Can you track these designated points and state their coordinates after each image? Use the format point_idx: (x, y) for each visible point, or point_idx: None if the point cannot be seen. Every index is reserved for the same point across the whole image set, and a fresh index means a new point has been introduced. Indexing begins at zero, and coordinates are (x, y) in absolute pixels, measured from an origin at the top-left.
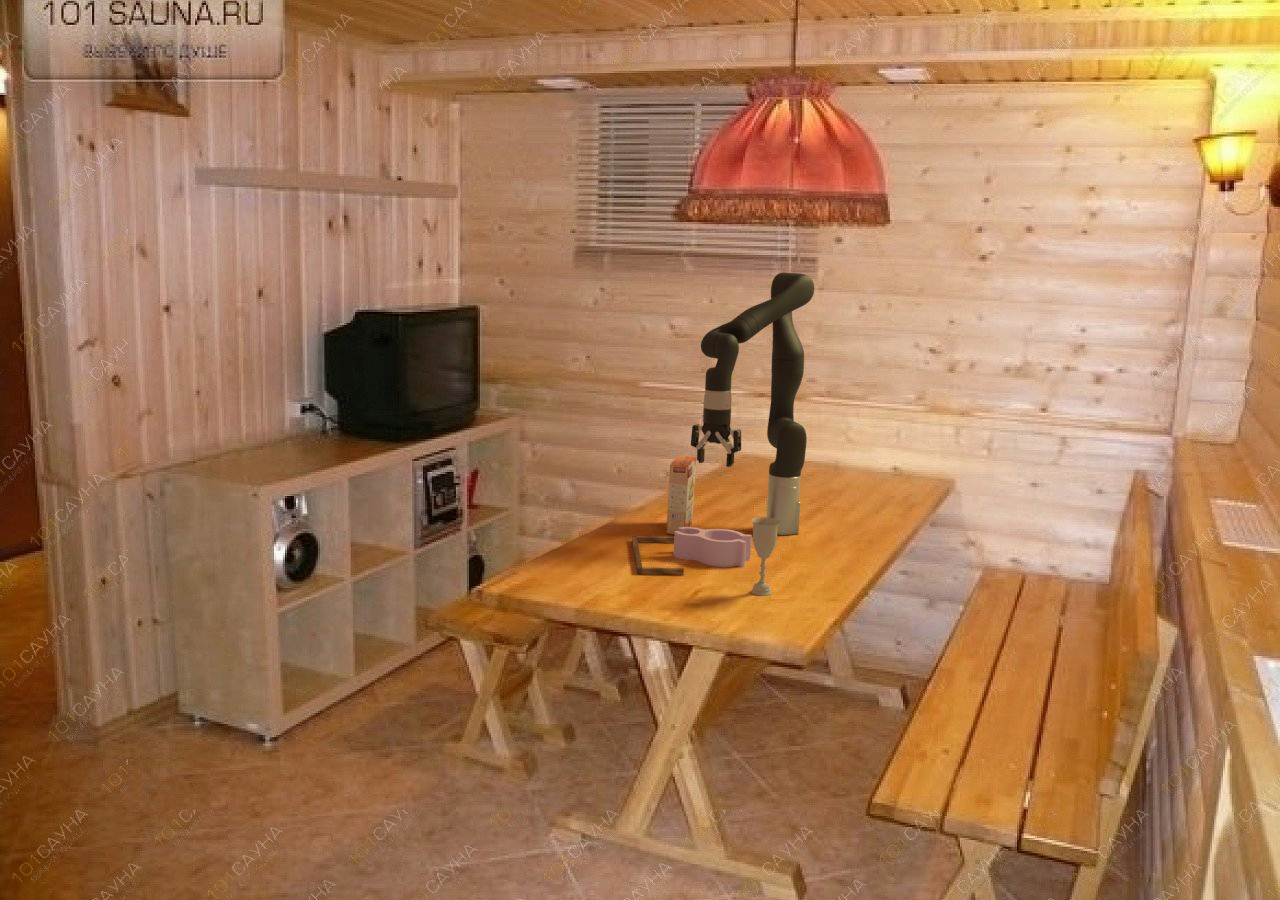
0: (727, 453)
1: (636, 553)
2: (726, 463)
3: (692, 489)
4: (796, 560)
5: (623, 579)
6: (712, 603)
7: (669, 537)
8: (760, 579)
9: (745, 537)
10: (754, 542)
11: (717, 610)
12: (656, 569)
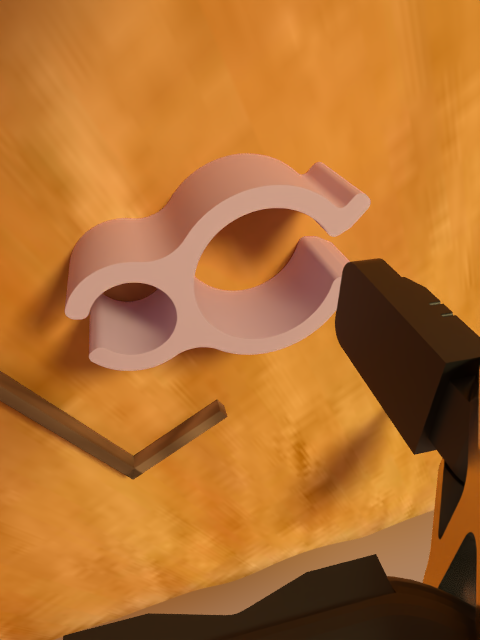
0: (419, 442)
1: (30, 415)
2: (350, 359)
3: None
4: (477, 56)
5: (130, 500)
6: (348, 466)
7: None
8: None
9: (348, 225)
10: None
11: (366, 479)
12: (170, 454)
